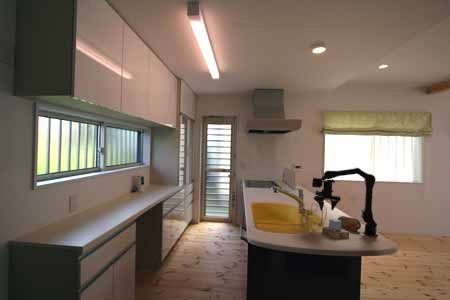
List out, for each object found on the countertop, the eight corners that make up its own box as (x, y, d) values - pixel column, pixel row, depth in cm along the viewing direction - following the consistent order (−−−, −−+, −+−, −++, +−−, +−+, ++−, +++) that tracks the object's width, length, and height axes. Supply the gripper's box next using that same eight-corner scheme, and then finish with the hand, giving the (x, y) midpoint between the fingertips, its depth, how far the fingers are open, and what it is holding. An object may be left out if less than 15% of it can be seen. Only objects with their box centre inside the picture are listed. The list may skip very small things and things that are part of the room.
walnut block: (335, 232, 157) (336, 226, 157) (348, 238, 147) (349, 231, 147) (322, 233, 154) (322, 227, 154) (334, 239, 144) (335, 233, 144)
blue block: (334, 227, 154) (335, 218, 154) (340, 230, 149) (341, 221, 149) (328, 228, 152) (329, 219, 152) (335, 231, 147) (335, 221, 147)
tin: (336, 226, 168) (337, 215, 168) (338, 226, 170) (338, 214, 170) (359, 232, 157) (360, 220, 157) (361, 231, 160) (361, 219, 160)
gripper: (330, 186, 176) (329, 207, 176) (309, 186, 170) (308, 208, 170) (341, 189, 165) (340, 211, 165) (319, 189, 160) (318, 212, 160)
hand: (326, 210), depth 165 cm, fingers open, 9 cm apart
